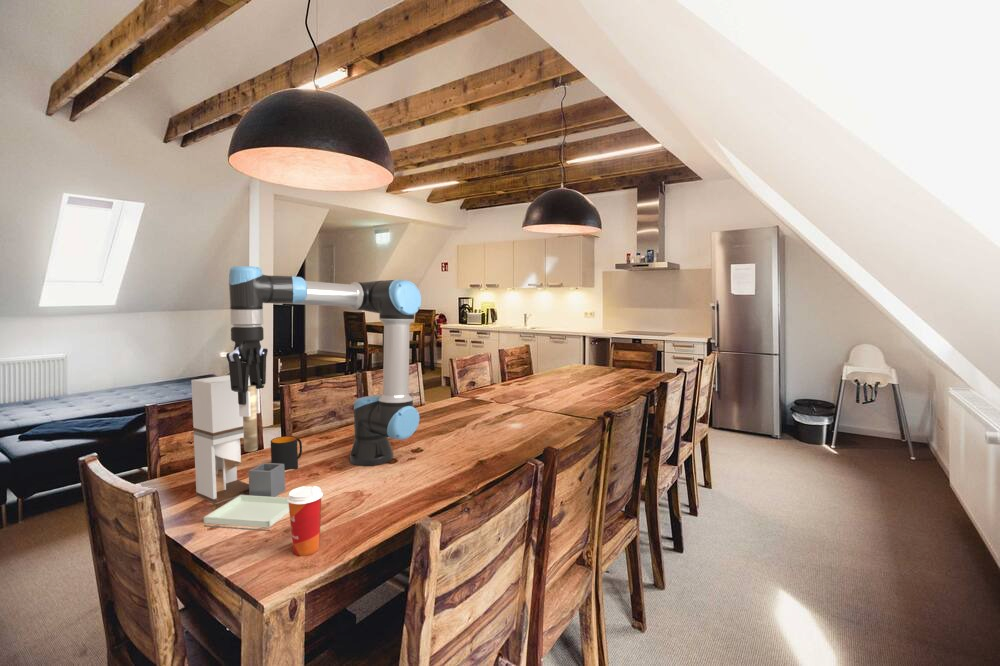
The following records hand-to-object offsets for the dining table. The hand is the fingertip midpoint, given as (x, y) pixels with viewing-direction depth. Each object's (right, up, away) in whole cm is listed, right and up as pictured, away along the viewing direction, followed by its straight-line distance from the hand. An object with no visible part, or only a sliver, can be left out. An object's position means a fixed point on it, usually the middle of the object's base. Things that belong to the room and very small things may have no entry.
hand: (250, 414), depth 125 cm
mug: (-7, -25, +39) cm, 47 cm away
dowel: (0, -10, +1) cm, 10 cm away
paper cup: (+21, -29, -15) cm, 39 cm away
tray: (0, -28, +2) cm, 28 cm away
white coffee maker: (-15, -27, +15) cm, 34 cm away
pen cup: (-2, -27, +14) cm, 30 cm away
